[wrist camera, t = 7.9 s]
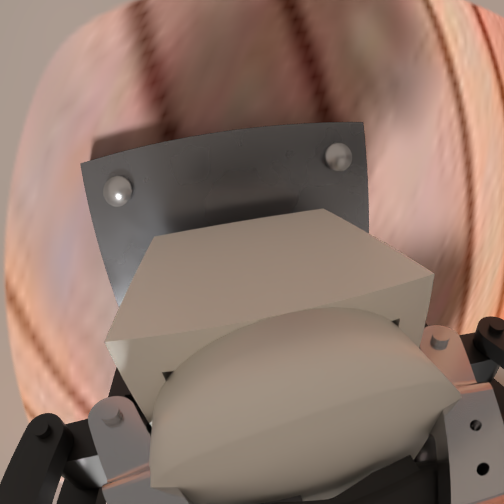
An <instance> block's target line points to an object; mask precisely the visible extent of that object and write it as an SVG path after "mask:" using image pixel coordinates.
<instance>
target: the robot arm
mask: <svg viewBox="0 0 504 504" xmlns="http://www.w3.org/2000/svg"><path fill="white" fill-rule="evenodd" d="M419 349H420V350H421V351H422V352H423V353H424V354H425V355H426V356H427V357H428V358H429V359H430V360H431V361H432V362H433V364H434V365H435V366H436V367H437V368H438V369H439V370H440V371H441V372H442V373H443V374H444V375H445V376H446V378H447V379H448V380H449V381H450V382H451V383H452V384H453V385H454V386H455V387H456V389H457V390H458V391H459V392H460V394H461V398H460V399H459V400H457V401H456V402H454V403H452V404H451V405H449V406H448V407H446V408H444V409H443V410H442V412H441V414H440V415H439V417H438V419H437V421H436V423H435V424H434V426H433V428H432V430H431V431H430V433H429V437H428V439H427V440H426V442H425V444H424V445H423V447H422V448H421V450H420V451H419V453H418V454H417V456H416V457H415V459H414V460H413V458H412V457H411V455H408V456H406V457H404V458H402V459H400V460H398V461H396V462H394V463H392V464H390V465H388V466H386V467H383V468H381V469H379V470H377V471H374V472H372V473H371V474H369V475H368V476H366V477H365V478H363V479H362V480H360V481H359V482H357V483H356V484H354V485H353V486H351V487H350V488H348V489H347V490H345V491H343V492H342V493H340V494H339V495H337V496H335V497H333V498H330V499H325V500H314V501H297V502H276V503H271V504H504V387H503V386H502V385H501V384H500V383H499V382H497V381H496V380H495V379H494V376H495V374H496V373H497V371H498V369H499V366H501V367H502V368H503V369H504V320H503V319H500V318H497V317H485V318H483V319H481V320H480V321H479V323H478V326H477V329H476V332H475V333H470V334H465V335H458V334H457V332H455V331H454V330H453V329H451V328H449V327H446V326H442V325H431V326H428V325H427V324H426V323H425V327H424V331H423V335H422V339H421V343H420V347H419ZM151 430H152V427H151V425H150V424H149V422H148V420H147V419H146V417H145V416H144V414H143V412H142V411H141V409H140V408H139V406H138V404H137V403H136V401H135V399H134V397H133V396H132V394H131V392H130V390H129V389H128V387H127V385H126V383H125V381H124V380H123V378H122V376H121V374H120V372H119V370H118V368H116V371H115V375H114V378H113V382H112V385H111V389H110V393H109V396H108V398H105V399H103V400H101V401H99V402H98V403H97V404H95V405H94V407H93V408H92V409H91V411H90V413H89V416H88V419H85V420H81V421H77V422H73V423H69V424H64V423H63V421H62V420H61V419H60V418H59V417H58V416H57V415H55V414H52V413H45V414H41V415H39V416H37V417H35V418H34V419H33V420H32V421H31V422H30V423H29V425H28V426H27V428H26V430H25V432H24V434H23V436H22V438H21V440H20V442H19V444H18V446H17V448H16V450H15V452H14V454H13V456H12V458H11V461H10V463H9V465H8V467H7V470H6V472H5V474H4V476H3V479H2V481H1V484H0V504H52V502H53V498H54V495H55V492H56V489H57V486H58V483H59V481H60V478H61V476H62V477H64V478H65V479H64V482H63V485H62V488H61V491H60V494H59V498H58V500H57V504H106V502H107V504H194V503H193V502H192V501H191V500H190V499H189V498H188V497H187V496H186V495H185V494H184V493H183V492H182V491H181V490H180V489H179V488H178V487H150V484H151V472H150V467H149V457H150V443H151Z"/></svg>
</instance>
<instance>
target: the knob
mask: <svg viewBox="0 0 504 504" xmlns="http://www.w3.org/2000/svg"><path fill="white" fill-rule="evenodd" d="M434 275H435V273H433V272H431V271H430V270H428V269H427V268H425V267H424V266H422V265H420V264H419V263H417V262H416V261H414V260H412V259H411V258H409V257H408V256H406V255H404V254H403V253H401V252H399V251H398V250H396V249H394V248H393V247H391V246H389V245H388V244H386V243H384V242H383V241H381V240H379V239H378V238H376V237H374V236H372V235H371V234H369V233H367V232H365V231H364V230H362V229H360V228H358V227H357V226H355V225H353V224H351V223H349V222H348V221H346V220H344V219H342V218H340V217H338V216H337V215H335V214H333V213H331V212H329V211H327V210H325V209H316V210H309V211H303V212H296V213H289V214H283V215H276V216H270V217H263V218H257V219H251V220H245V221H239V222H233V223H227V224H221V225H215V226H210V227H204V228H198V229H193V230H187V231H182V232H176V233H171V234H166V235H160V236H155V237H154V238H153V240H152V242H151V244H150V245H149V247H148V249H147V251H146V253H145V255H144V257H143V259H142V261H141V263H140V265H139V267H138V269H137V271H136V273H135V275H134V277H133V279H132V281H131V283H130V286H129V288H128V290H127V292H126V294H125V296H124V298H123V301H122V303H121V305H120V307H119V309H118V312H117V314H116V316H115V318H114V321H113V323H112V325H111V328H110V330H109V332H108V335H107V337H106V340H105V344H106V346H107V348H108V350H109V352H110V354H111V356H112V358H113V360H114V362H115V364H116V366H117V368H118V370H119V372H120V374H121V376H122V378H123V380H124V381H125V383H126V385H127V387H128V389H129V390H130V392H131V394H132V396H133V397H134V399H135V401H136V403H137V404H138V406H139V408H140V409H141V411H142V412H143V414H144V416H145V417H146V419H147V420H148V422H149V424H150V425H151V427H152V430H151V443H150V457H149V467H150V472H151V484H150V487H178V488H179V489H180V490H181V491H182V492H183V493H184V494H185V495H186V496H187V497H188V498H189V499H190V500H191V501H192V502H193V503H194V504H271V503H276V502H297V501H314V500H325V499H330V498H333V497H335V496H337V495H339V494H340V493H342V492H343V491H345V490H347V489H348V488H350V487H351V486H353V485H354V484H356V483H357V482H359V481H360V480H362V479H363V478H365V477H366V476H368V475H369V474H371V473H372V472H374V471H377V470H379V469H381V468H383V467H386V466H388V465H390V464H392V463H394V462H396V461H398V460H400V459H402V458H404V457H406V456H408V455H411V457H412V458H413V460H414V459H415V457H416V456H417V454H418V453H419V451H420V450H421V448H422V447H423V445H424V444H425V442H426V440H427V439H428V437H429V433H430V431H431V430H432V428H433V426H434V424H435V423H436V421H437V419H438V417H439V415H440V414H441V412H442V410H443V409H444V408H446V407H448V406H449V405H451V404H452V403H454V402H456V401H457V400H459V399H460V398H461V394H460V392H459V391H458V390H457V389H456V387H455V386H454V385H453V384H452V383H451V382H450V381H449V380H448V379H447V378H446V376H445V375H444V374H443V373H442V372H441V371H440V370H439V369H438V368H437V367H436V366H435V365H434V364H433V362H432V361H431V360H430V359H429V358H428V357H427V356H426V355H425V354H424V353H423V352H422V351H421V350H420V349H419V347H420V343H421V339H422V335H423V331H424V327H425V322H426V318H427V313H428V309H429V304H430V298H431V293H432V287H433V281H434Z"/></svg>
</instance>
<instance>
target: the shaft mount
mask: <svg viewBox="0 0 504 504" xmlns="http://www.w3.org/2000/svg"><path fill="white" fill-rule="evenodd" d="M81 170H82V176H83V181H84V186H85V191H86V196H87V200H88V205H89V209H90V214H91V218H92V222H93V226H94V230H95V233H96V237H97V241H98V244H99V248H100V251H101V255H102V258H103V261H104V265H105V268H106V271H107V274H108V277H109V280H110V283H111V286H112V289H113V292H114V295H115V298H116V301H117V303H118V306H119V307H120V305H121V303H122V301H123V298H124V296H125V294H126V292H127V290H128V288H129V286H130V283H131V281H132V279H133V277H134V275H135V273H136V271H137V269H138V267H139V265H140V263H141V261H142V259H143V257H144V255H145V253H146V251H147V249H148V247H149V245H150V244H151V242H152V240H153V238H154V237H155V236H160V235H166V234H171V233H176V232H182V231H187V230H193V229H198V228H204V227H210V226H215V225H221V224H227V223H233V222H239V221H245V220H251V219H257V218H263V217H270V216H276V215H283V214H289V213H296V212H303V211H309V210H316V209H325V210H327V211H329V212H331V213H333V214H335V215H337V216H338V217H340V218H342V219H344V220H346V221H348V222H349V223H351V224H353V225H355V226H357V227H358V228H360V229H362V230H364V231H365V232H367V233H369V204H368V176H367V160H366V146H365V135H364V125H363V122H328V123H304V124H288V125H276V126H265V127H255V128H246V129H238V130H230V131H223V132H216V133H210V134H203V135H198V136H192V137H186V138H181V139H176V140H171V141H166V142H161V143H156V144H152V145H147V146H143V147H139V148H135V149H131V150H127V151H123V152H119V153H115V154H112V155H108V156H104V157H101V158H97V159H94V160H91V161H87V162H84V163H81Z"/></svg>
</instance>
